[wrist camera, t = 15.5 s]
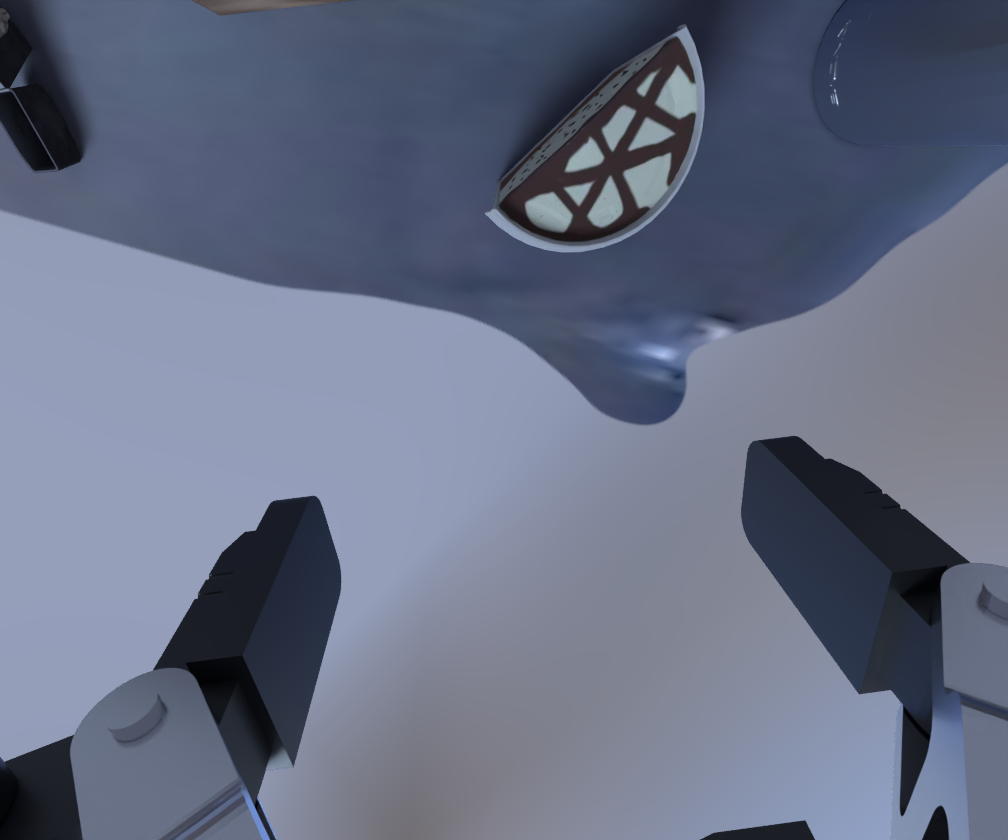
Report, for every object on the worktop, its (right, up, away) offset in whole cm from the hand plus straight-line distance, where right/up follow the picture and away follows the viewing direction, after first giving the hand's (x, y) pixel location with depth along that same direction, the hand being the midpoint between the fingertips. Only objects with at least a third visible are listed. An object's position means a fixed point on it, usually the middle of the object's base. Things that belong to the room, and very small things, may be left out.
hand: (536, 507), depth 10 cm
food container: (+4, +18, +25) cm, 31 cm away
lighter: (-27, +21, +21) cm, 41 cm away
